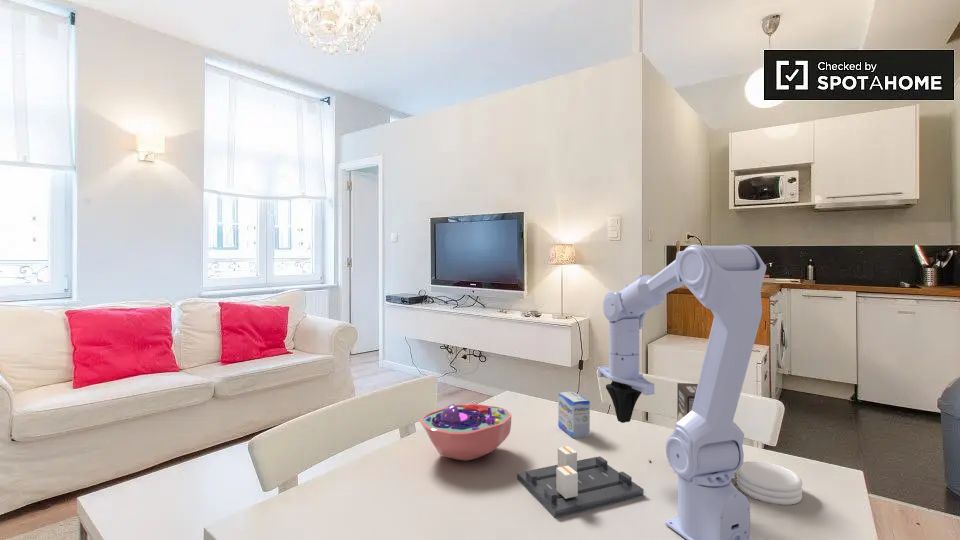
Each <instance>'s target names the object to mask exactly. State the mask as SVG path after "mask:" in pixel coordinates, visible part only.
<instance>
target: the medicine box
mask: <svg viewBox="0 0 960 540" xmlns="http://www.w3.org/2000/svg"><path fill="white" fill-rule="evenodd" d="M590 403H591V402H590V400H589V399H587V398H585V397H583V396H582V395H580V394H578V393H576V392H574V391H563V392H559V393H558V406H557V407H558V412H557V413H558V417H557V420H558V421H557V423H558V424H557V426H558V428H560V429H561V430H562V431H563V432H565V433H566V434H568V435H569V436H571V438H573V439H580V438H586V437H590V434H591V433H590V428H591V427H590V426H591V423H590V422H591V421H590V419H591V416H590V415H591V413H590V412H591V408H590V407H591V404H590Z"/></svg>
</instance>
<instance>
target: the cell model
mask: <svg viewBox="0 0 960 540" xmlns="http://www.w3.org/2000/svg"><path fill="white" fill-rule="evenodd" d="M419 423H420V425H421V426H422V427H423V429H424V430H425V432H426V434H427V437H428V438H429V440H430V442H431V443H432V445H433V446H434V447H435V449H436V451H437V453H438V454H439V455H440V456H442V457H444V458H449V459H454V460H458V461H467V462H468V461H471V460H475V459H478V458H479V459H480V458H482V457H483V456H486V455H487V454H490V453H492V452H494V451H495V450H496V449H497V448H498V447H499V446H501V445H502V444H503V443H504V442H505V440H506V439H507V438H508V437H509V435H510V433H511V430H512V428H511V427H512V414H511V412H509V411H508V410H507V409H505V408H502V407H497V406H493V405H492V406H491V405H484V404H480V403H479V404H478V403H465V404H464V403H462V404H460V403H458V404H454V403H452V404H449V405H447V406H446V407H442V408H440V409H437V410H434V411H430V412H429V413H427V414H425V415H424V416H422V417H421V419H420V421H419Z"/></svg>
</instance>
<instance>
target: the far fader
mask: <svg viewBox="0 0 960 540" xmlns="http://www.w3.org/2000/svg"><path fill="white" fill-rule="evenodd" d="M577 461H578V451H576V450H575V449H573V448H572V447H571V446H561V447H558V448H557V465H558V467H563V466H569V467H571V468H572V469H573V470H575V471H576V472H577Z"/></svg>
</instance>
